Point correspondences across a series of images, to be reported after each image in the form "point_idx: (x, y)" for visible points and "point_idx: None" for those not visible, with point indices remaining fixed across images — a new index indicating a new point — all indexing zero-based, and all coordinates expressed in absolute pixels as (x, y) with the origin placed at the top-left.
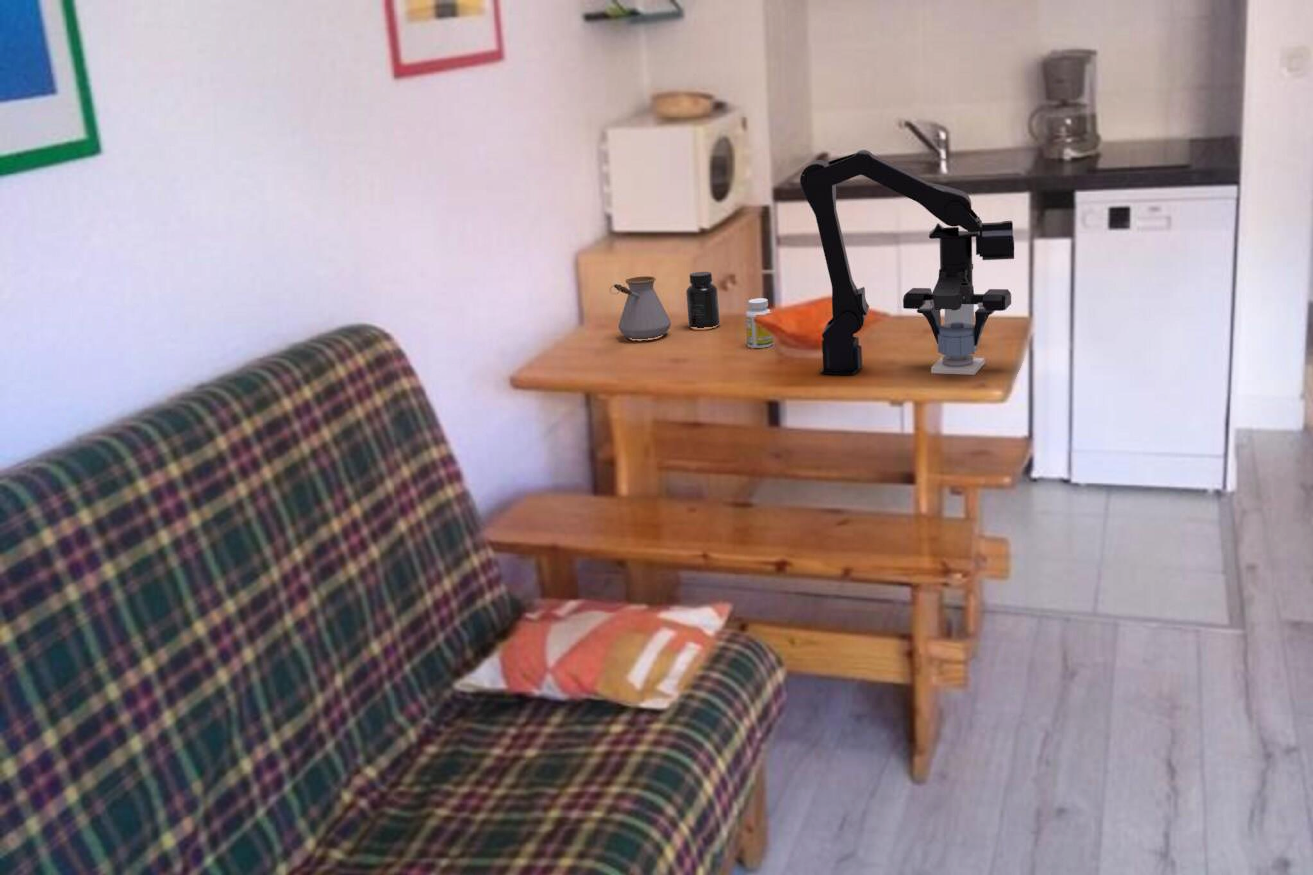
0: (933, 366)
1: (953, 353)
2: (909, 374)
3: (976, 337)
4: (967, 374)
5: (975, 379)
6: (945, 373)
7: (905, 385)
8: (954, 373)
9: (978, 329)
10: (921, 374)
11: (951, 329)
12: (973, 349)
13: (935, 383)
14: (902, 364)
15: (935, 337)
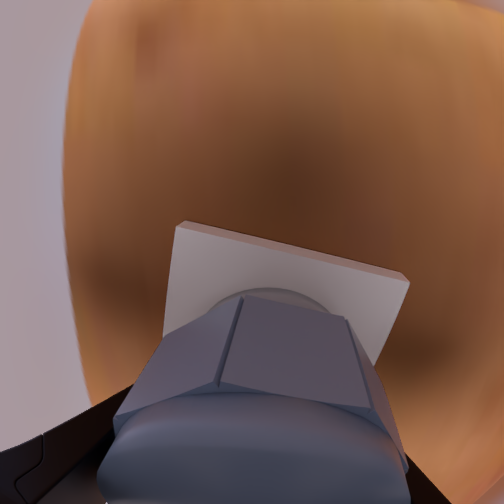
0: (395, 306)
1: (292, 313)
2: (484, 260)
3: (105, 411)
4: (219, 228)
5: (176, 138)
6: (334, 256)
7: (496, 83)
8: (287, 244)
9: (54, 442)
10: (442, 255)
11: (306, 498)
12: (155, 353)
13: (380, 79)
14: (469, 392)
15: (410, 461)
